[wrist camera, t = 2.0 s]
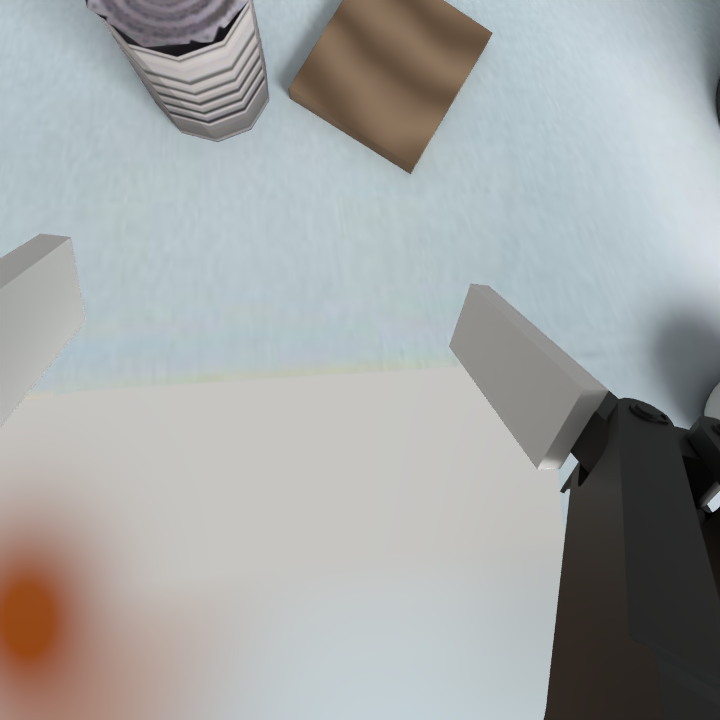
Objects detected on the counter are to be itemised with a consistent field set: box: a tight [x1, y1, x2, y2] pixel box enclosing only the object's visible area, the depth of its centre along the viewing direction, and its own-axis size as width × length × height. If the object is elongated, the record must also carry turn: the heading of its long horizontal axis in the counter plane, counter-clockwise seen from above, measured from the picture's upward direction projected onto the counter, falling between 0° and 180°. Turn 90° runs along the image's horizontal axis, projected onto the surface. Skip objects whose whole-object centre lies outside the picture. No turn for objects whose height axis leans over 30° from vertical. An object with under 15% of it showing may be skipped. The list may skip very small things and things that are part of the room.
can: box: [86, 0, 269, 142], centre depth 34 cm, size 11×11×12 cm
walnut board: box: [289, 0, 492, 174], centre depth 40 cm, size 16×14×2 cm
